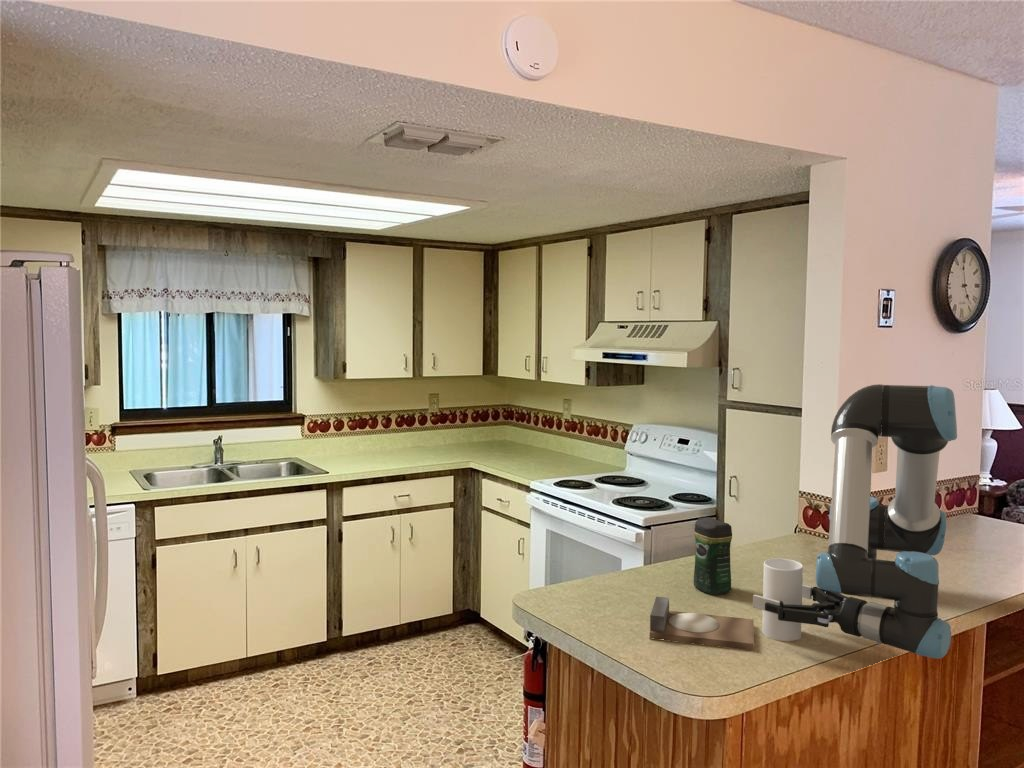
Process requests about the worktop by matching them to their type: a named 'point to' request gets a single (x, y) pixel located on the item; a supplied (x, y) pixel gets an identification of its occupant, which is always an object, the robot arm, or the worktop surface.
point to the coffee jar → (712, 556)
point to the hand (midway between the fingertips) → (768, 593)
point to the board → (700, 627)
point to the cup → (782, 596)
